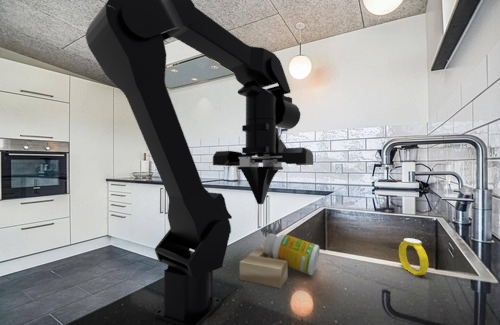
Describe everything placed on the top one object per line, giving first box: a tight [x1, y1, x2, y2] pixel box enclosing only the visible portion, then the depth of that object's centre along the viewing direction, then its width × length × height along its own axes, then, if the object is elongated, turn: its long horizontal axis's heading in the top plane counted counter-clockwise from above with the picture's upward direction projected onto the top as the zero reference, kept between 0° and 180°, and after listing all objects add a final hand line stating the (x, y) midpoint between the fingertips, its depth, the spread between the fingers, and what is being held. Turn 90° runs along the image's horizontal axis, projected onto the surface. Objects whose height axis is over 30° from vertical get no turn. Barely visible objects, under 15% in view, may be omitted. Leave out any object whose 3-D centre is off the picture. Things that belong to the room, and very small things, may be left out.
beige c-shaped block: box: [239, 243, 288, 289], centre depth 47 cm, size 14×8×3 cm, turn 155°
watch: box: [398, 237, 430, 276], centre depth 44 cm, size 6×3×6 cm, turn 3°
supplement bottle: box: [263, 233, 320, 276], centre depth 45 cm, size 5×5×10 cm
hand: (260, 203), depth 45 cm, fingers closed
